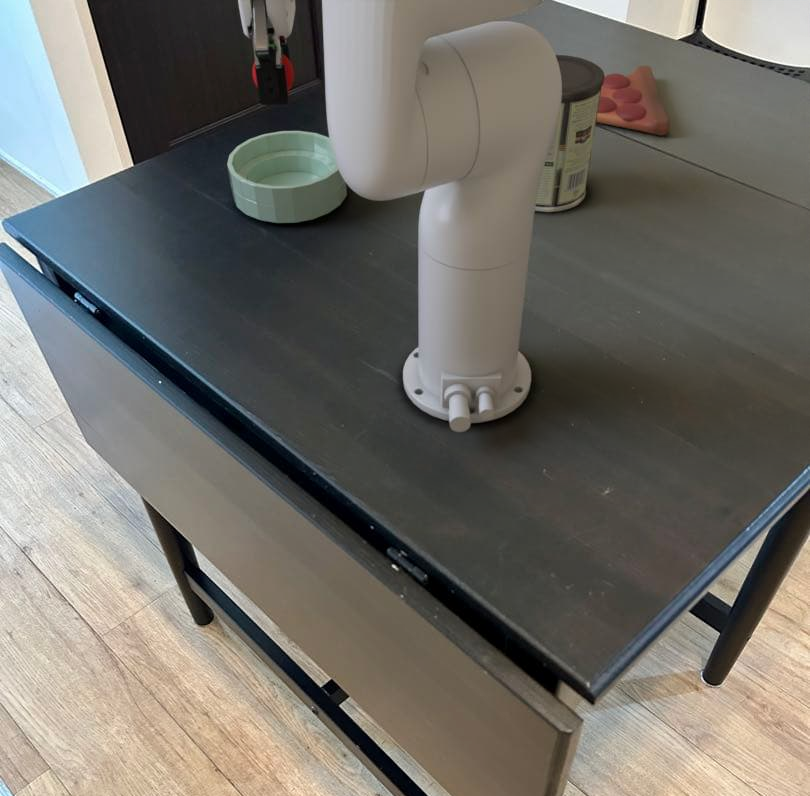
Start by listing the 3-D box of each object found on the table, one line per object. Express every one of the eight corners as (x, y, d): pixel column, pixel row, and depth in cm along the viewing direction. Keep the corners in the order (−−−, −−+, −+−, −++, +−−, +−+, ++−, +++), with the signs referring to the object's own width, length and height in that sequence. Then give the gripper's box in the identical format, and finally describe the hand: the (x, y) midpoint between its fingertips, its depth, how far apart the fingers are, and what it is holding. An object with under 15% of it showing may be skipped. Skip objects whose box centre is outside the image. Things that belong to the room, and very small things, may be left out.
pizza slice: (672, 121, 111) (522, 121, 112) (668, 138, 113) (520, 138, 114) (651, 63, 123) (516, 64, 124) (648, 79, 125) (515, 80, 126)
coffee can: (519, 164, 109) (530, 48, 98) (595, 180, 106) (615, 62, 95) (491, 202, 103) (499, 83, 92) (570, 220, 101) (589, 99, 90)
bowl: (345, 226, 101) (342, 186, 97) (228, 228, 101) (220, 189, 97) (348, 167, 110) (346, 129, 106) (241, 170, 110) (234, 131, 106)
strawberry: (294, 105, 94) (289, 57, 90) (254, 105, 94) (246, 58, 90) (297, 86, 97) (292, 39, 93) (258, 87, 97) (251, 40, 93)
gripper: (283, -76, 75) (305, 127, 90) (296, -129, 86) (313, 61, 100) (201, -74, 75) (235, 128, 90) (223, -128, 86) (251, 62, 100)
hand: (276, 91), depth 95 cm, fingers closed on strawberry, 4 cm apart
